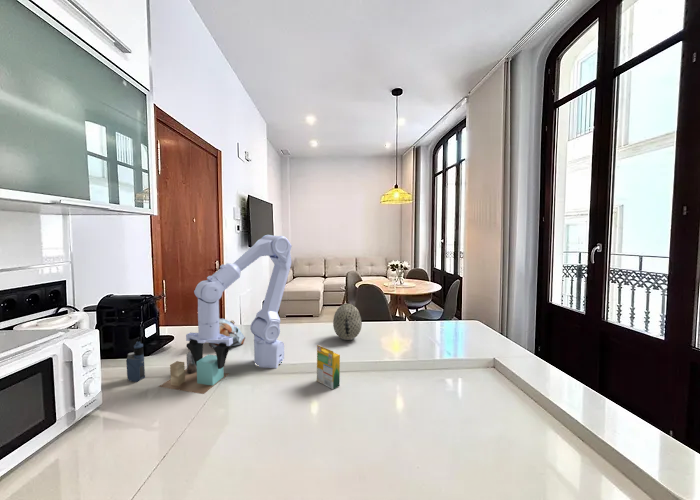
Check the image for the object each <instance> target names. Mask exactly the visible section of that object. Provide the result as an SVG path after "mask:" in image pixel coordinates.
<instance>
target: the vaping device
mask: <svg viewBox="0 0 700 500" xmlns="http://www.w3.org/2000/svg"><path fill="white" fill-rule="evenodd" d="M125 360H126V378H127V380H128V381H129V382H134V383H135V382H136V383H139V382H140V381H141V380H143V379H145V378H146V373H145V372H146V371H145V356H144V343H141V341H136V343H135V344H134V345H133V352H129V353H127V357H126V359H125Z"/></svg>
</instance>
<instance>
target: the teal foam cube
mask: <svg viewBox="0 0 700 500" xmlns="http://www.w3.org/2000/svg"><path fill="white" fill-rule="evenodd" d="M224 373H225V372H224V367H222V368H221V369H218V365H217V355H216V354H210V353H209V354H206V355H204V356H203V358H202V359H200V360H198V361H197V383H199V384H205V385H212V386H213V385H214V384H215V383H217V382H218V381H219V380H221V379H222V378H223V377H224ZM223 379H224V378H223ZM223 379H222V380H223ZM222 380H221V381H222ZM218 383H219V382H218ZM218 383H217V384H218ZM213 387H214V386H213Z"/></svg>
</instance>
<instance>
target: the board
mask: <svg viewBox="0 0 700 500" xmlns="http://www.w3.org/2000/svg"><path fill="white" fill-rule="evenodd" d="M229 375H230V373H228V372H224V377H223V378H222V379H221V380H219V381H218V382H217V383H215V384H214V385H213V386H212V385H205V384H199V383H197V372H196V373H193V374H188V373H187V368H186V369H185V382H184V383H182V384H181V385H179V386H175V385H171V378H170V379H168V380H166V381H165V382H163V383H162V384H160V385H158V386H157V387H159V388H165V389H171V390H177V391H183V392H188V393H197V394H202V395H205V394H206V393H207V392H208V391H210V390H211V389H212V388H214V387H215V386H216V385H217V384H218V383H220V382H221V381H222V380H224V379H225V378H226V377H228V376H229Z"/></svg>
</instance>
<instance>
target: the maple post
mask: <svg viewBox="0 0 700 500" xmlns="http://www.w3.org/2000/svg"><path fill="white" fill-rule="evenodd" d="M185 368H186V367H185V362H184V361H178V360H177V361H175V362H173V363H171V364H170V365H169V369H170V370H169V371H170V373H169V374H170V379H171V385H175V386H179V385H181V384H182V383H184V382H185V370H186V369H185Z"/></svg>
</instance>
